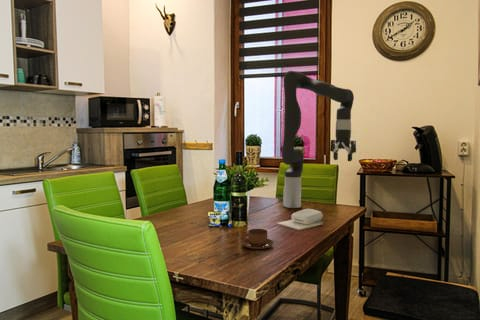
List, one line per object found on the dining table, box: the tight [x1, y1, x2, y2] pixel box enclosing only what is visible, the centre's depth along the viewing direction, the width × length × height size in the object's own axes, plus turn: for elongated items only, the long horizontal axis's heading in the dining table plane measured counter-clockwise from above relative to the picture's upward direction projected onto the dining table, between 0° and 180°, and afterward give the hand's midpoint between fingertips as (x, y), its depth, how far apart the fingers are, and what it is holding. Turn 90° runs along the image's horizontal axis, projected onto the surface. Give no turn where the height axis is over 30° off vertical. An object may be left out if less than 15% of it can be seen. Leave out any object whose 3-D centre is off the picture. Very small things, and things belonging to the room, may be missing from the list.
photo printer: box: [290, 208, 324, 224], centre depth 191 cm, size 10×4×12 cm
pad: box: [276, 219, 324, 231], centre depth 189 cm, size 14×16×1 cm
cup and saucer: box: [241, 228, 274, 250], centre depth 155 cm, size 12×12×6 cm
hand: (342, 160), depth 206 cm, fingers open, 8 cm apart
